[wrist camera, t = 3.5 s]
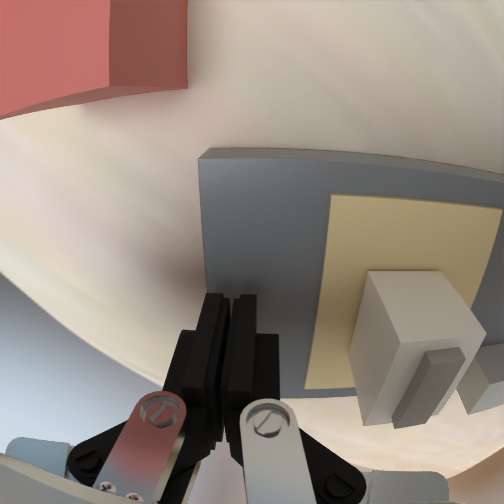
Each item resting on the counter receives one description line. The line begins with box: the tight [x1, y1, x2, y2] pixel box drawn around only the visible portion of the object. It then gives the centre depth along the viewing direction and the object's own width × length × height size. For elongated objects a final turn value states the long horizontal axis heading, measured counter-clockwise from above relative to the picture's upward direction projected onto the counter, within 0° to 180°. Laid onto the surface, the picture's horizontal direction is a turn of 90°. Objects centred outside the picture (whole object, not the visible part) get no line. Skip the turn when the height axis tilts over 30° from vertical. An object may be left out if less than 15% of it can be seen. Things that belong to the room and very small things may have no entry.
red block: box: [0, 0, 187, 120], centre depth 6 cm, size 4×4×6 cm
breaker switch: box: [348, 271, 487, 429], centre depth 9 cm, size 3×4×4 cm
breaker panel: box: [198, 148, 504, 415], centre depth 11 cm, size 20×11×4 cm, turn 90°
